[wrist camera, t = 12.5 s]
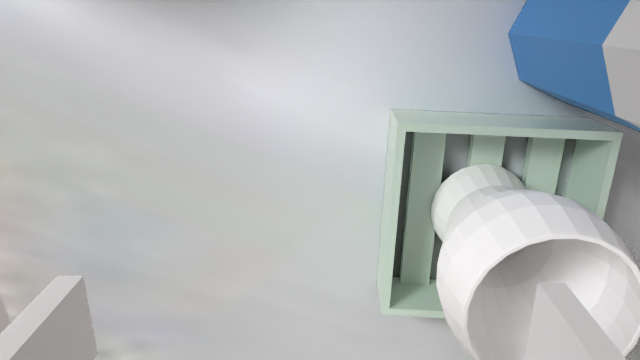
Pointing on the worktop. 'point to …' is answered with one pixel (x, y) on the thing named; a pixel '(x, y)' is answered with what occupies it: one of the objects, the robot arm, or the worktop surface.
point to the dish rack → (485, 148)
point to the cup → (525, 262)
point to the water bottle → (582, 54)
